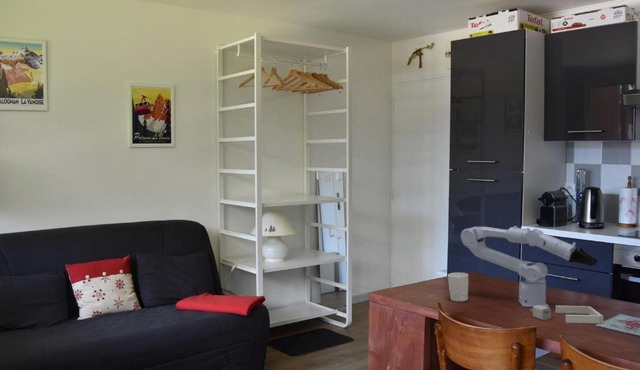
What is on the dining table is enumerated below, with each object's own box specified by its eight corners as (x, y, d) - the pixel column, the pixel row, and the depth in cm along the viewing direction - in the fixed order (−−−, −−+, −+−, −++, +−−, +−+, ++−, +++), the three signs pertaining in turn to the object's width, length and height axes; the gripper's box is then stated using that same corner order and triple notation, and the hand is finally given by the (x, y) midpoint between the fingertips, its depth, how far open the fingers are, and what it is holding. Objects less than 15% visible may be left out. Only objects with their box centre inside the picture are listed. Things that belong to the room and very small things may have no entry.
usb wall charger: (542, 320, 200) (542, 309, 200) (527, 315, 207) (527, 304, 207) (550, 318, 202) (550, 307, 202) (536, 314, 208) (536, 303, 208)
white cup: (457, 303, 224) (456, 278, 223) (445, 299, 231) (443, 274, 230) (473, 299, 228) (472, 274, 227) (460, 295, 235) (459, 271, 234)
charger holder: (566, 322, 197) (566, 315, 197) (555, 312, 210) (555, 305, 210) (603, 323, 196) (603, 316, 196) (589, 313, 209) (590, 306, 208)
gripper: (557, 237, 208) (595, 252, 201) (566, 237, 220) (602, 252, 212) (549, 254, 209) (587, 271, 202) (559, 254, 221) (594, 270, 213)
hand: (594, 263), depth 207 cm, fingers open, 7 cm apart
